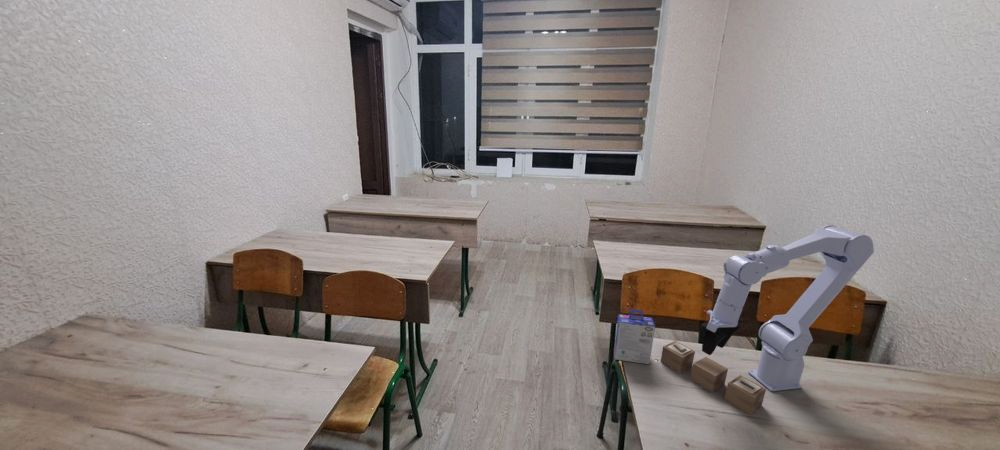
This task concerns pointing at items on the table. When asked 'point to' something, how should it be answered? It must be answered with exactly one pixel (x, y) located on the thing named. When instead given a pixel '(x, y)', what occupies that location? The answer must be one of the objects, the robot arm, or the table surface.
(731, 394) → the numbered block one
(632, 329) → the ink cartridge box
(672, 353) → the numbered block seven
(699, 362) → the plain block
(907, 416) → the table surface
